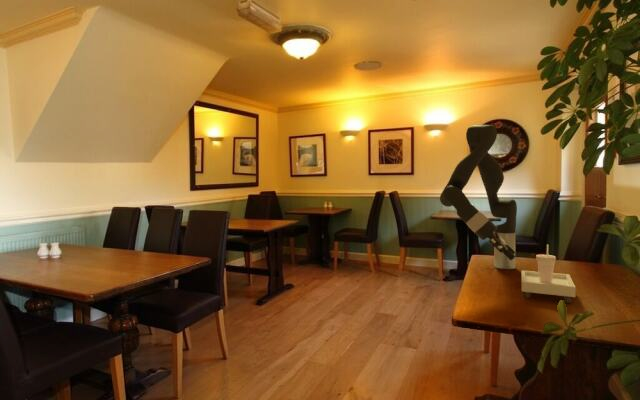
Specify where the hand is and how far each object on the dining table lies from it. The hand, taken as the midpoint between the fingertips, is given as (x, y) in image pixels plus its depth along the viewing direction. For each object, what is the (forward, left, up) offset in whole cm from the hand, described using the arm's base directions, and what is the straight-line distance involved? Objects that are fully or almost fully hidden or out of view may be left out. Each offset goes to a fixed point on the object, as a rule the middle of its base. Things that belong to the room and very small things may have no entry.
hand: (513, 256), depth 142 cm
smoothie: (0, +11, -9) cm, 14 cm away
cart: (0, +11, -14) cm, 18 cm away
